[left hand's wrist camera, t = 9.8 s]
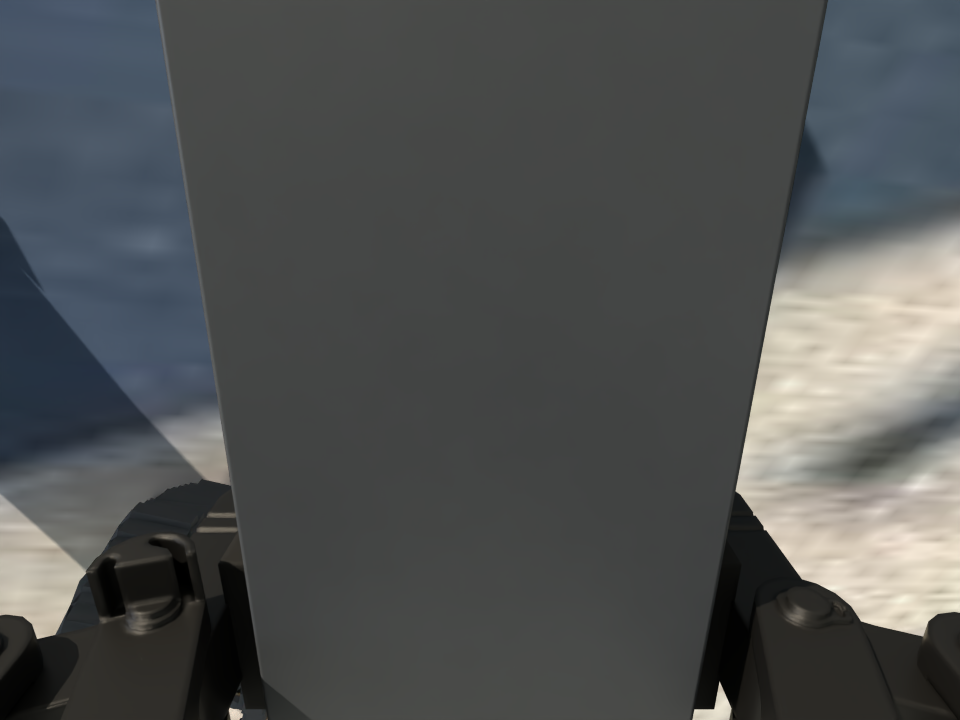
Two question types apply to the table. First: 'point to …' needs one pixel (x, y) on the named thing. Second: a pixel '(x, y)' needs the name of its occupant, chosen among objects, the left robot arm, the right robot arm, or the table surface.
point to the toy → (161, 514)
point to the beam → (486, 332)
